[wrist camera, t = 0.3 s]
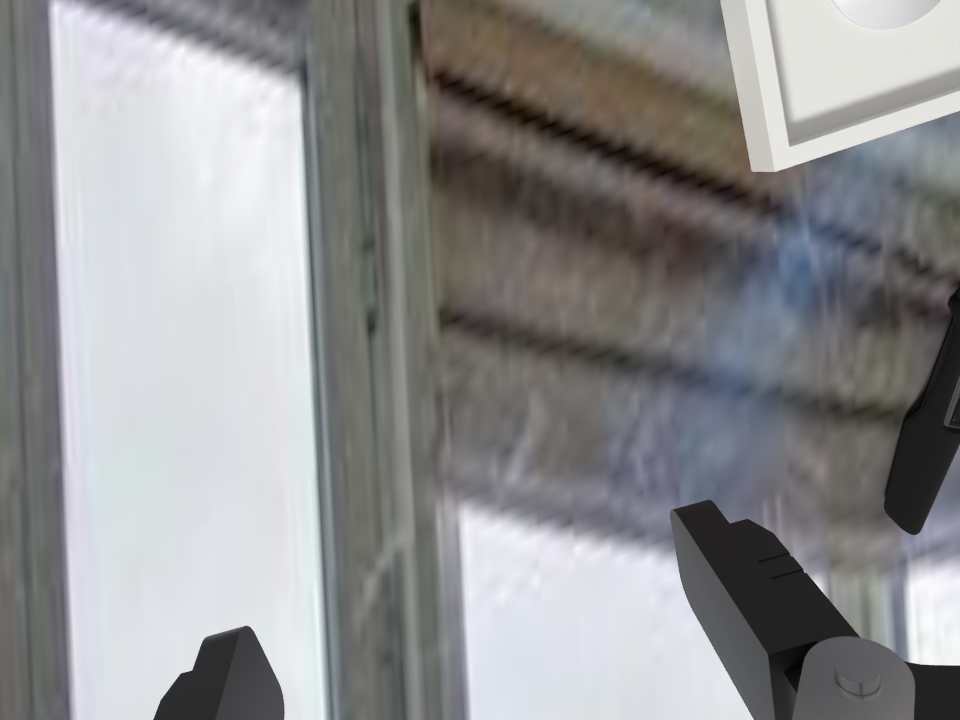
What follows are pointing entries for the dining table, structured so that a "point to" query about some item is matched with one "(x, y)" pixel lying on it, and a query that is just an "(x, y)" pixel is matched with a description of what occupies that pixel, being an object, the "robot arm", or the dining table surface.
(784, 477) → the dining table surface
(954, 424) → the electric trimmer
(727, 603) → the robot arm
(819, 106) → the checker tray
